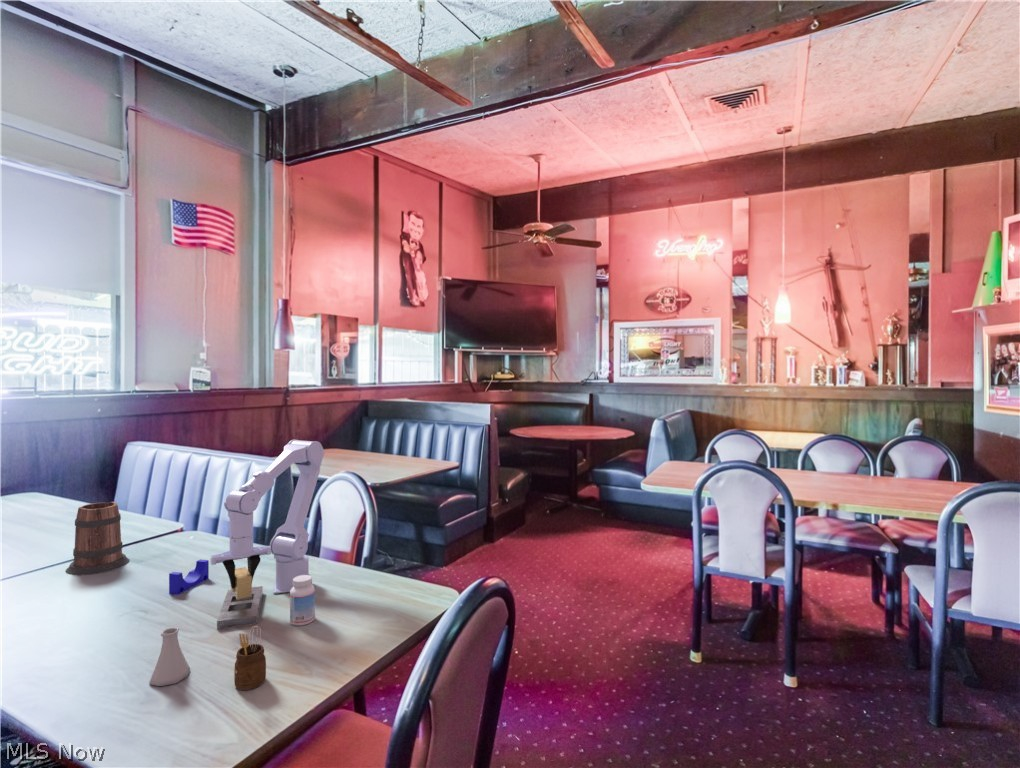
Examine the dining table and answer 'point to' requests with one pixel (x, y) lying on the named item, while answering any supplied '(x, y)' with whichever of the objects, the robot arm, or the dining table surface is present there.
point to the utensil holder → (249, 665)
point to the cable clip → (189, 578)
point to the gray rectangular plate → (240, 609)
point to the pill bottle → (302, 601)
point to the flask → (170, 661)
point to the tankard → (97, 540)
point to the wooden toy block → (242, 583)
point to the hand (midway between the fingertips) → (241, 585)
